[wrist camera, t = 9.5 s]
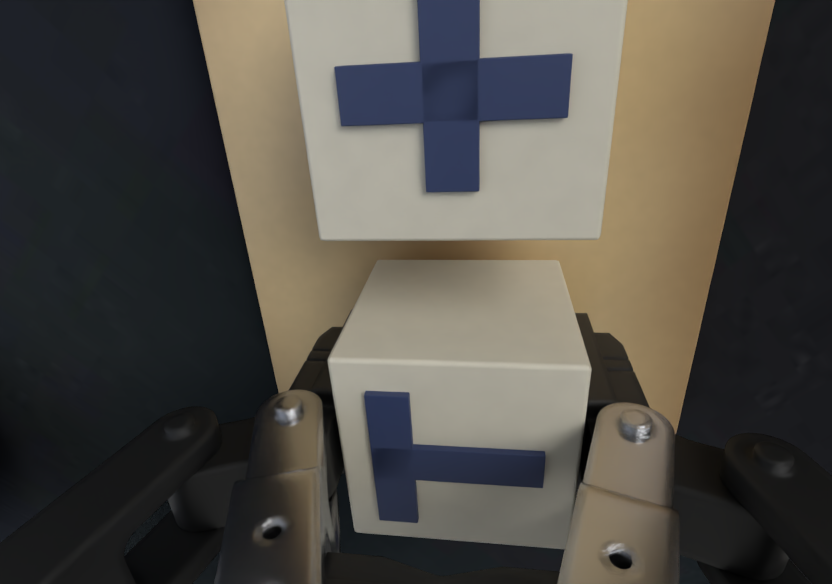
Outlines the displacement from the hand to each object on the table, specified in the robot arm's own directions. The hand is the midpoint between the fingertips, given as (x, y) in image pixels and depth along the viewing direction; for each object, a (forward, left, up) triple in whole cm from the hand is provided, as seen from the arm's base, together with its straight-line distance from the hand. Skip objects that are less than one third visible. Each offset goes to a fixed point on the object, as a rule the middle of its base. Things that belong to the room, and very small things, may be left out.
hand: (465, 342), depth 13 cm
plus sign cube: (0, -6, -1) cm, 7 cm away
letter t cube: (0, 0, 0) cm, 0 cm away
